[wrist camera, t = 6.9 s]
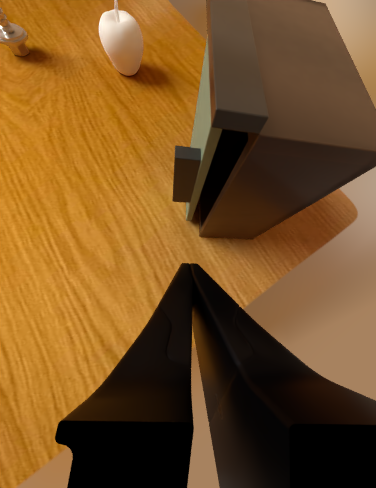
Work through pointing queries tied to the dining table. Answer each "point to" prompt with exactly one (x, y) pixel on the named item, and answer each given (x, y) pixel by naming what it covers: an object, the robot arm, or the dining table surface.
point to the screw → (13, 36)
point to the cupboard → (280, 114)
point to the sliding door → (196, 149)
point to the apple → (121, 40)
